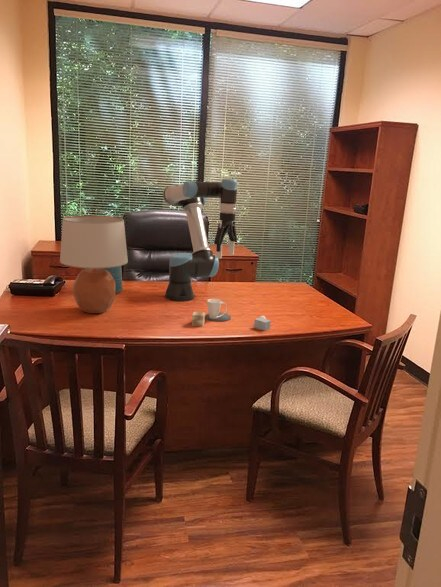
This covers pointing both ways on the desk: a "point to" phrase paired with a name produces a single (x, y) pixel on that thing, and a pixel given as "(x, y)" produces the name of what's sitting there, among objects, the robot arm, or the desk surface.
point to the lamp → (93, 258)
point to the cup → (215, 308)
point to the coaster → (222, 318)
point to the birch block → (198, 318)
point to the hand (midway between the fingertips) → (225, 256)
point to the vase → (116, 277)
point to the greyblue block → (262, 324)
